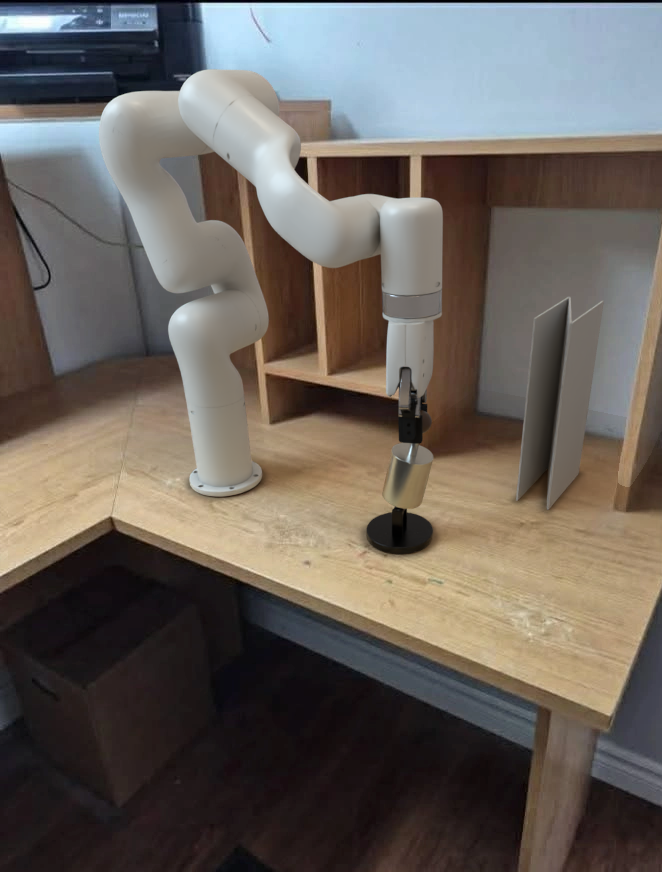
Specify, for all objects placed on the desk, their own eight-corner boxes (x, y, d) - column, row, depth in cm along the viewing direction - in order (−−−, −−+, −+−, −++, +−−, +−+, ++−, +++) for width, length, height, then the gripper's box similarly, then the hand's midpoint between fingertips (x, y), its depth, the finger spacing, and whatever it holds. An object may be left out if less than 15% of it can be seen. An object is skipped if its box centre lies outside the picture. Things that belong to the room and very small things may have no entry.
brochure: (548, 465, 122) (568, 296, 108) (578, 473, 120) (604, 300, 105) (515, 500, 112) (533, 318, 98) (548, 509, 110) (571, 323, 95)
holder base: (437, 521, 107) (438, 491, 105) (426, 558, 99) (427, 526, 96) (375, 514, 110) (374, 485, 107) (359, 549, 101) (358, 518, 99)
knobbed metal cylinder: (447, 408, 96) (405, 397, 97) (440, 426, 91) (396, 414, 91) (421, 508, 104) (383, 497, 105) (414, 529, 99) (374, 517, 100)
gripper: (395, 288, 95) (398, 412, 104) (368, 320, 81) (373, 460, 90) (450, 289, 93) (448, 414, 102) (431, 322, 79) (431, 464, 88)
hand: (413, 435), depth 96 cm, fingers closed on knobbed metal cylinder, 3 cm apart
